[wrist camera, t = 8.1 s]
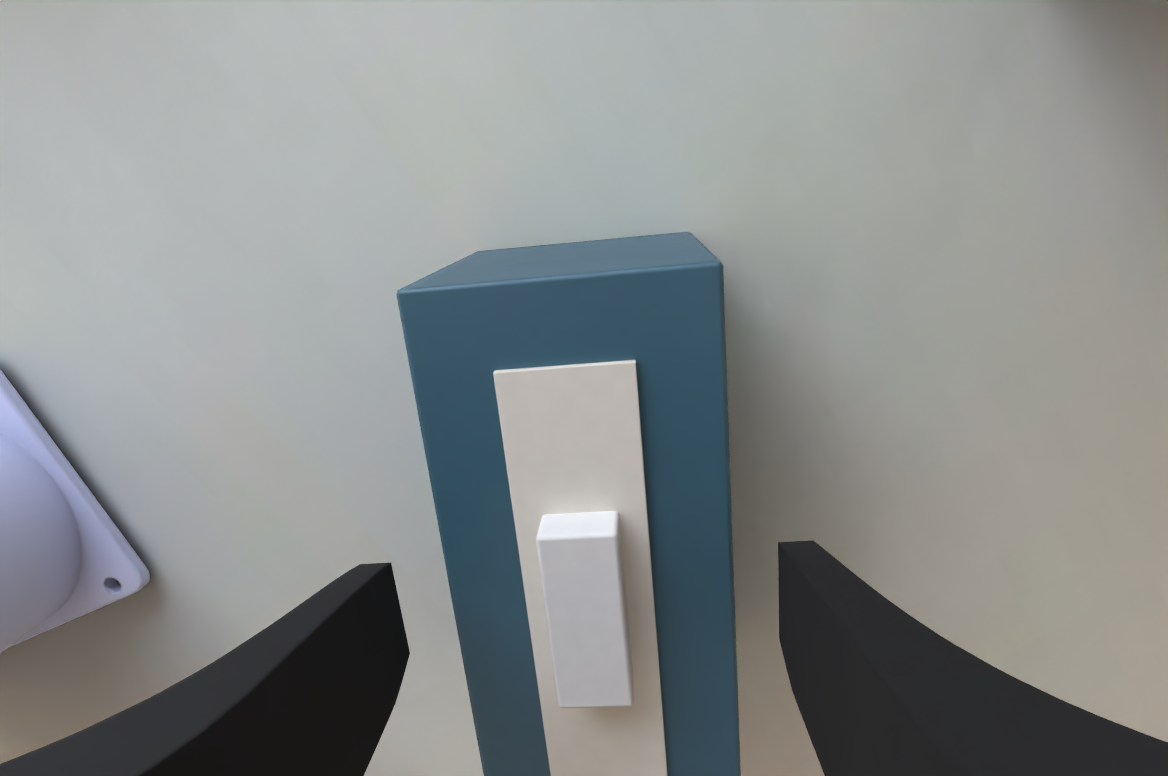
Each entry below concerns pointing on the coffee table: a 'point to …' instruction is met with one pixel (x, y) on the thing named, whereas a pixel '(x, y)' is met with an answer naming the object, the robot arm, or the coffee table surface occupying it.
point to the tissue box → (585, 501)
